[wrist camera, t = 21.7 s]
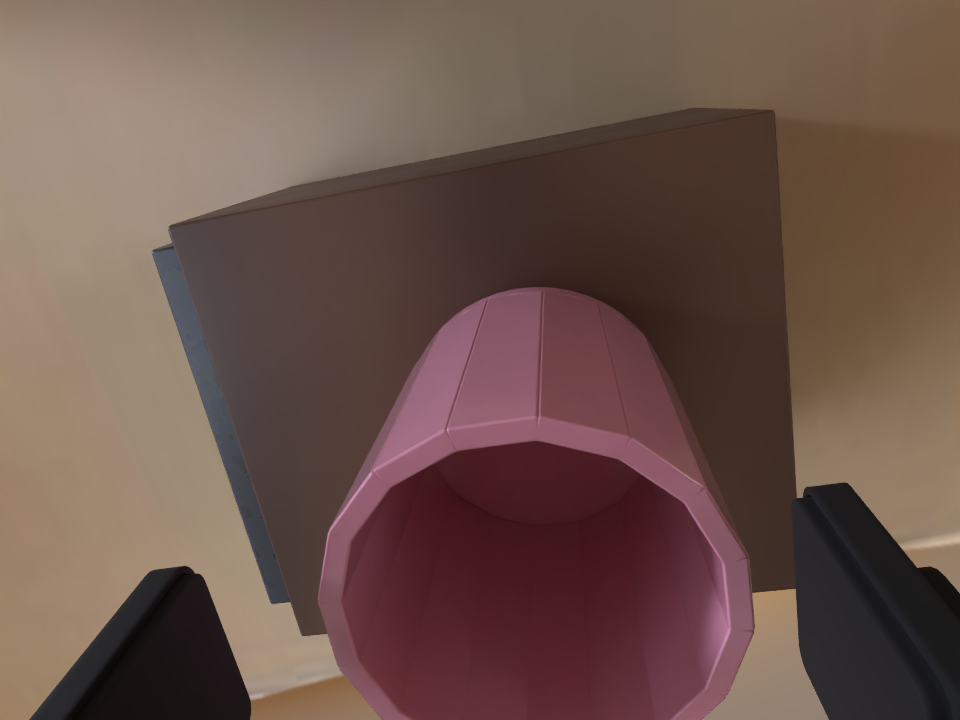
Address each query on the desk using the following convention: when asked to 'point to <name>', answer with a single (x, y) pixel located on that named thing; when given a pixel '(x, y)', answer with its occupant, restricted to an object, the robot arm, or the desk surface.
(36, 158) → the desk surface
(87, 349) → the desk surface
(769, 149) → the drawer unit
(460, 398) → the pink cup
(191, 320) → the drawer
